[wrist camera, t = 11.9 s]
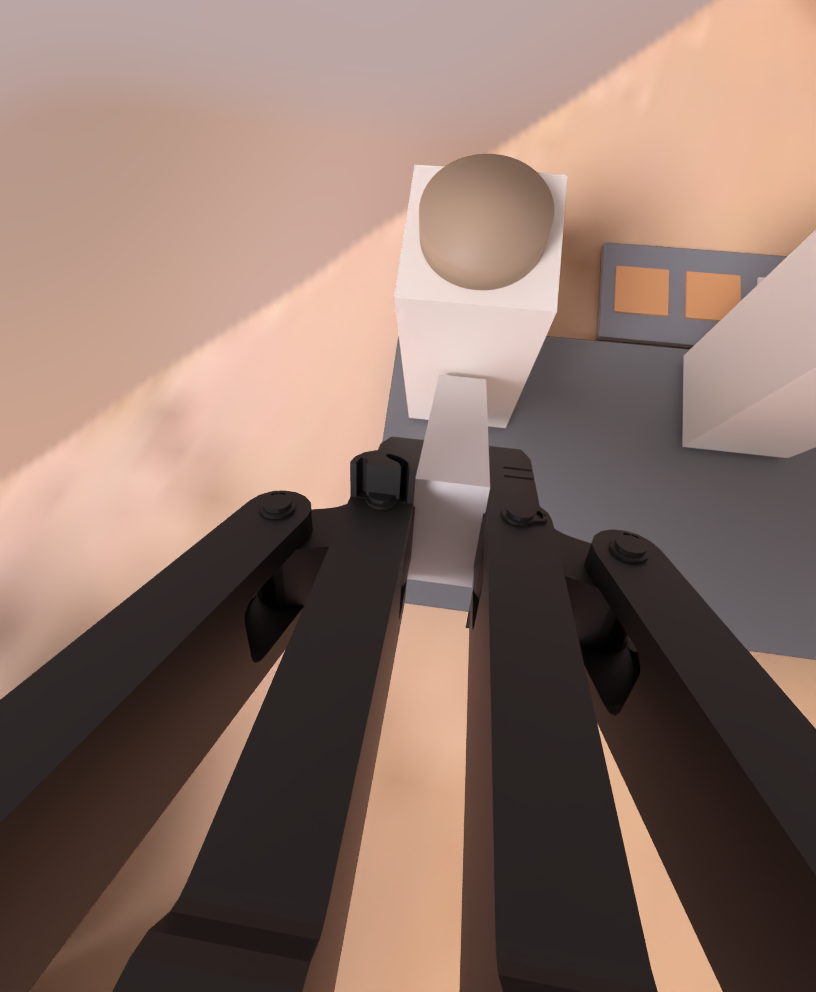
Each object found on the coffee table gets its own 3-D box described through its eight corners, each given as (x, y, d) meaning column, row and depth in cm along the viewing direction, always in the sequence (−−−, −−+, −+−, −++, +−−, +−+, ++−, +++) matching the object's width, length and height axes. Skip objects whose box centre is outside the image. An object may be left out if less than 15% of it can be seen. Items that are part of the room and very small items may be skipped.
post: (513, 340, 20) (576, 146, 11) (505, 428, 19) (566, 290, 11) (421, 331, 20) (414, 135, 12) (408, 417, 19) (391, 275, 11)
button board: (1027, 280, 21) (1071, 256, 20) (1092, 697, 18) (1152, 706, 16) (418, 232, 23) (417, 208, 22) (364, 596, 20) (358, 596, 18)
